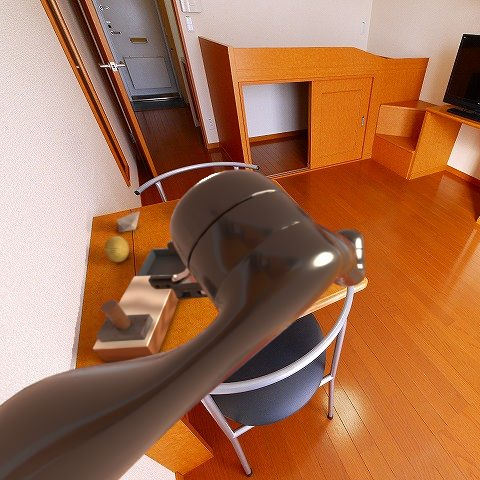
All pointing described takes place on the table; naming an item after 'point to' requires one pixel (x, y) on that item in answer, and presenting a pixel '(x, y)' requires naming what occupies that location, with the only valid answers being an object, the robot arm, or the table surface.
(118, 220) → the paper boat
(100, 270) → the table surface
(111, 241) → the sculpture
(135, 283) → the beige flat block
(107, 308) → the stamp with brown handle
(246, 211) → the robot arm
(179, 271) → the bin
